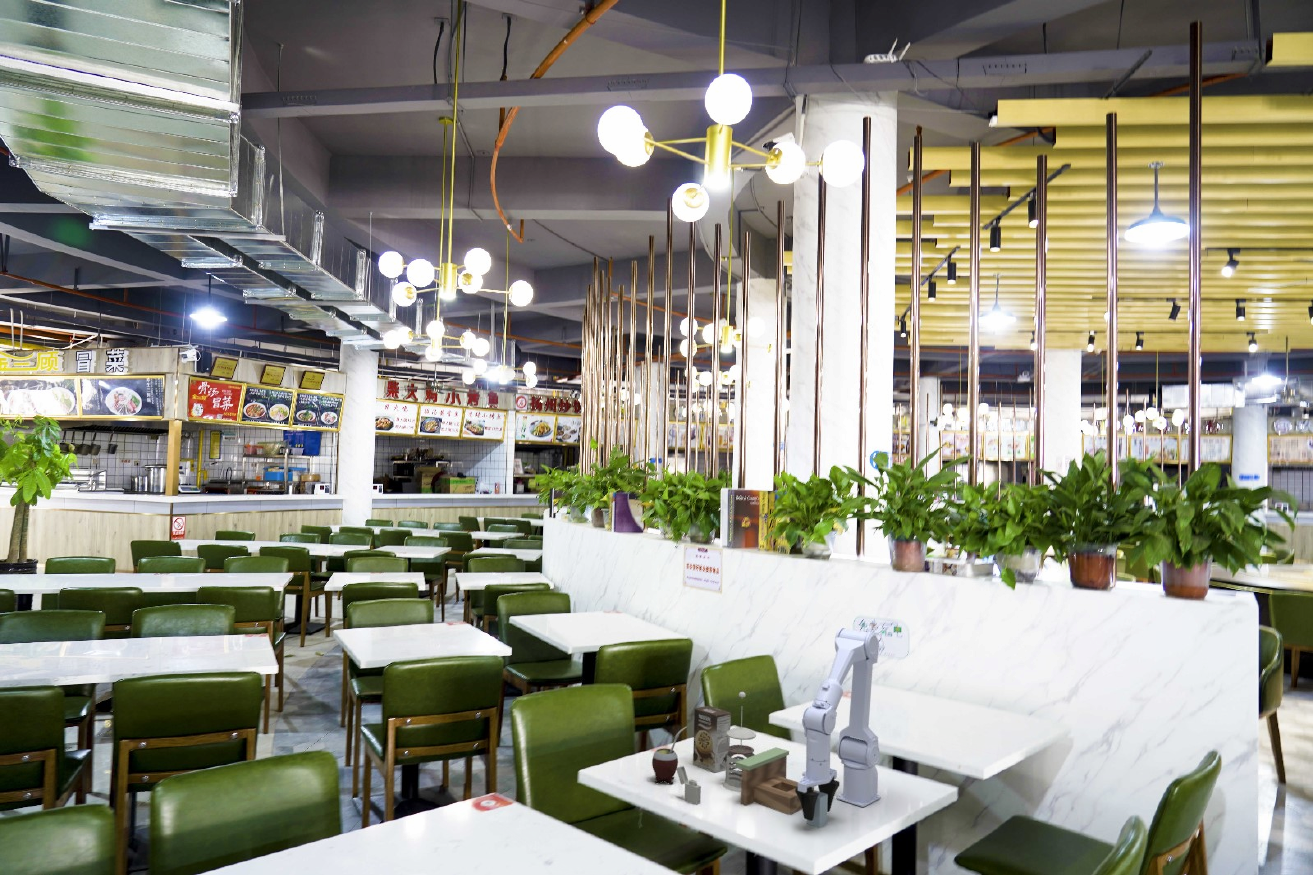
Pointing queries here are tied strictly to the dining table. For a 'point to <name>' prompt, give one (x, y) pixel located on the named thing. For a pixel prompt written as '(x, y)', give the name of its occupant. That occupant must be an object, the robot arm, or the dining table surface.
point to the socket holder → (769, 781)
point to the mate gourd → (665, 763)
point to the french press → (740, 733)
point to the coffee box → (711, 738)
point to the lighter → (689, 787)
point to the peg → (820, 810)
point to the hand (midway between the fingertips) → (817, 815)
